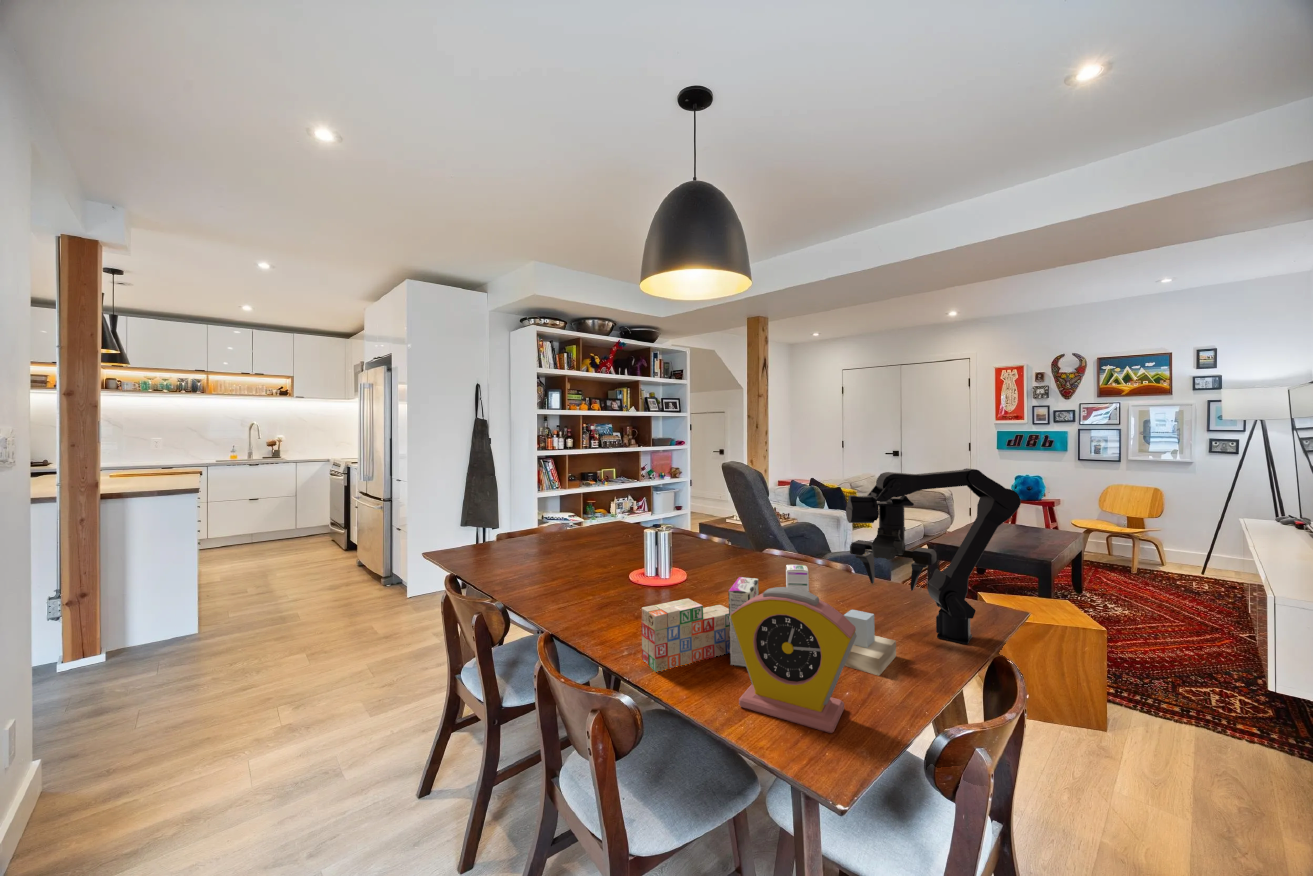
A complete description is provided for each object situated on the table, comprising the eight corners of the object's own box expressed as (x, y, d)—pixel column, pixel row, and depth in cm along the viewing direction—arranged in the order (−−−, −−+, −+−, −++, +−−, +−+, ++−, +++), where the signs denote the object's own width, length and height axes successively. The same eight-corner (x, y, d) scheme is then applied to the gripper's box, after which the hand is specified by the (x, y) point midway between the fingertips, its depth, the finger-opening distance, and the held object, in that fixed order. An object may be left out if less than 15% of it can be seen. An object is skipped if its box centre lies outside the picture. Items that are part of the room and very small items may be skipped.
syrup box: (810, 626, 131) (810, 570, 131) (786, 624, 132) (786, 569, 132) (808, 618, 136) (807, 564, 136) (785, 617, 137) (785, 563, 137)
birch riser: (896, 658, 112) (895, 640, 112) (879, 678, 103) (878, 659, 103) (842, 644, 120) (842, 627, 120) (822, 661, 111) (822, 643, 111)
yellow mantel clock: (724, 703, 93) (724, 587, 93) (743, 682, 101) (742, 575, 101) (850, 740, 82) (849, 607, 81) (860, 713, 89) (859, 592, 89)
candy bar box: (738, 645, 119) (738, 576, 119) (760, 648, 117) (759, 578, 117) (728, 665, 108) (727, 589, 108) (751, 669, 107) (750, 592, 107)
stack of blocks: (720, 642, 121) (720, 591, 121) (736, 652, 115) (736, 598, 115) (641, 662, 111) (640, 606, 111) (655, 674, 105) (654, 615, 105)
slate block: (874, 641, 112) (874, 614, 112) (867, 648, 108) (866, 620, 108) (852, 635, 116) (851, 609, 116) (843, 642, 112) (843, 615, 112)
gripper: (841, 523, 124) (842, 587, 124) (925, 532, 112) (925, 603, 112) (857, 518, 133) (857, 577, 133) (936, 526, 120) (937, 591, 120)
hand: (891, 586), depth 124 cm, fingers open, 9 cm apart
